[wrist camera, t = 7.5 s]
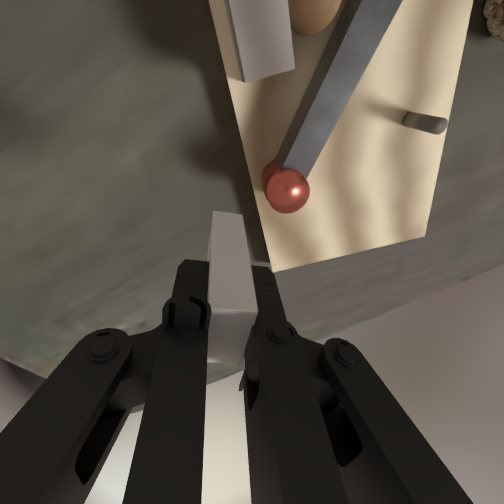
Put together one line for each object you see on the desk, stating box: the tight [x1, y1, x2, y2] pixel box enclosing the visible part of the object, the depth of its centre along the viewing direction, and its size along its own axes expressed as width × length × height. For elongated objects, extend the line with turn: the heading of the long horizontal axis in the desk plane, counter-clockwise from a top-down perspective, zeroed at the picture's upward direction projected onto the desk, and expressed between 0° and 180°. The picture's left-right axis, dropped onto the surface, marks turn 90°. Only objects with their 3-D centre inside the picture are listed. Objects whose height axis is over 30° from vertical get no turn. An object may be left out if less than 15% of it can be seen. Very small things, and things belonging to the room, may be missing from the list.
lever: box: [261, 0, 403, 214], centre depth 19 cm, size 4×18×4 cm, turn 157°
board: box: [209, 0, 473, 272], centre depth 21 cm, size 19×30×7 cm, turn 13°
